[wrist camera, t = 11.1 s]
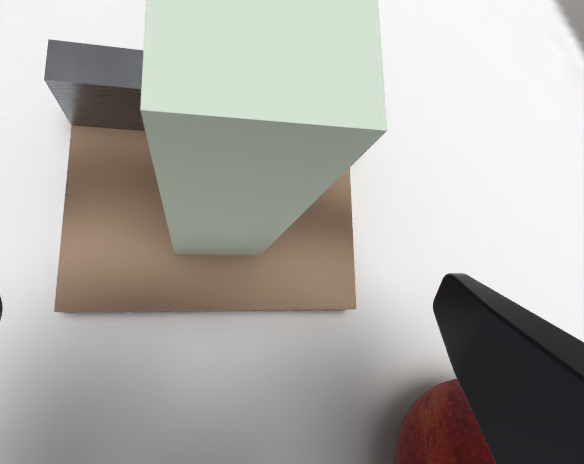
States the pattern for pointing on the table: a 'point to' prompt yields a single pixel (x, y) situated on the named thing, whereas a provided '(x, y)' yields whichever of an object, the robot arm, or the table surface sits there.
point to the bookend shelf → (152, 222)
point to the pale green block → (256, 112)
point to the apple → (442, 430)
